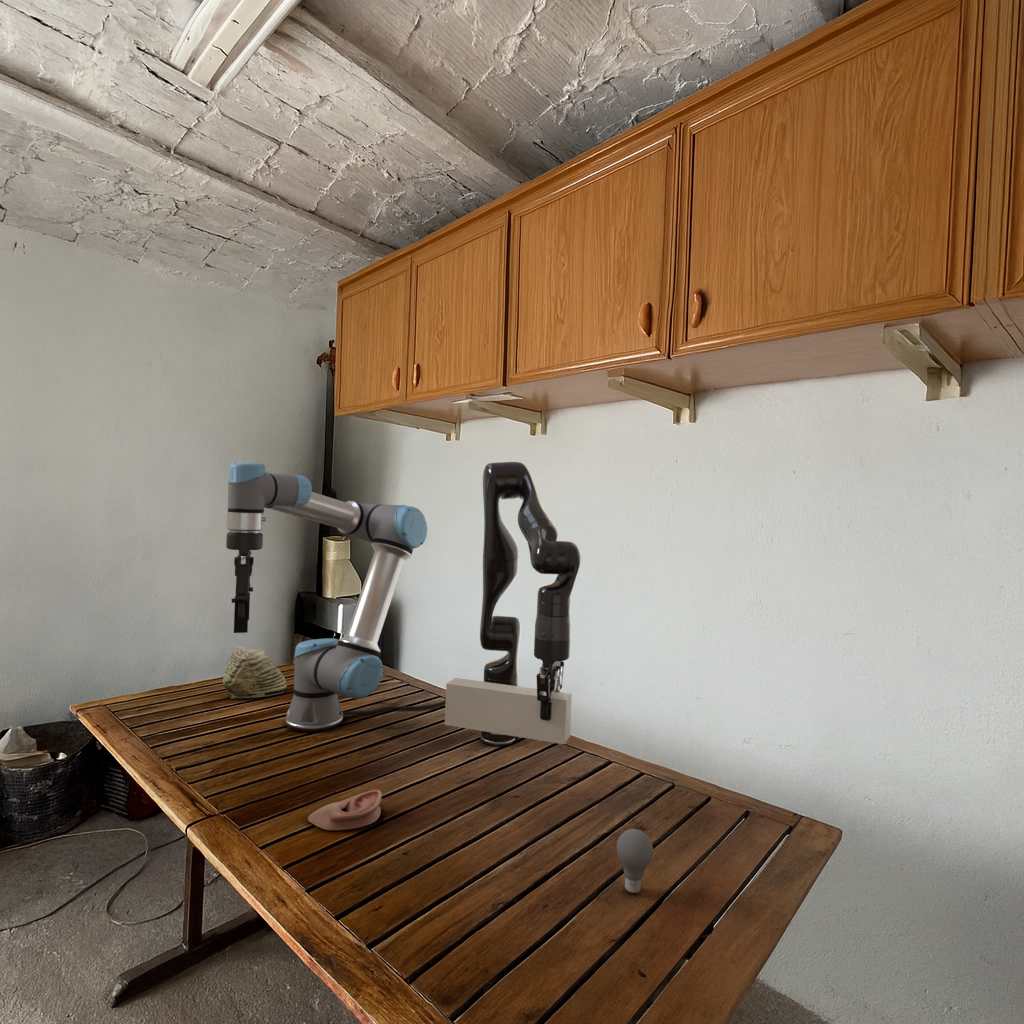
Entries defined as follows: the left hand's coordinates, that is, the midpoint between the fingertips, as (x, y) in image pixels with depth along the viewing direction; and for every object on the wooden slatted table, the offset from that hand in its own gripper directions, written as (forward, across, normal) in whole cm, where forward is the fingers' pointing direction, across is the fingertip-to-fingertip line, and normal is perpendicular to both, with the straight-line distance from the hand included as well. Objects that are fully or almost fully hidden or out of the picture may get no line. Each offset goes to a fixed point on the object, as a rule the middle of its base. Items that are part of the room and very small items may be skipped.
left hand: (241, 626), depth 142 cm
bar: (+19, -27, -54) cm, 63 cm away
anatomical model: (+34, -26, -21) cm, 47 cm away
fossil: (+34, +58, -3) cm, 67 cm away
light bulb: (+34, -64, -63) cm, 96 cm away
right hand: (+14, -33, -61) cm, 71 cm away
